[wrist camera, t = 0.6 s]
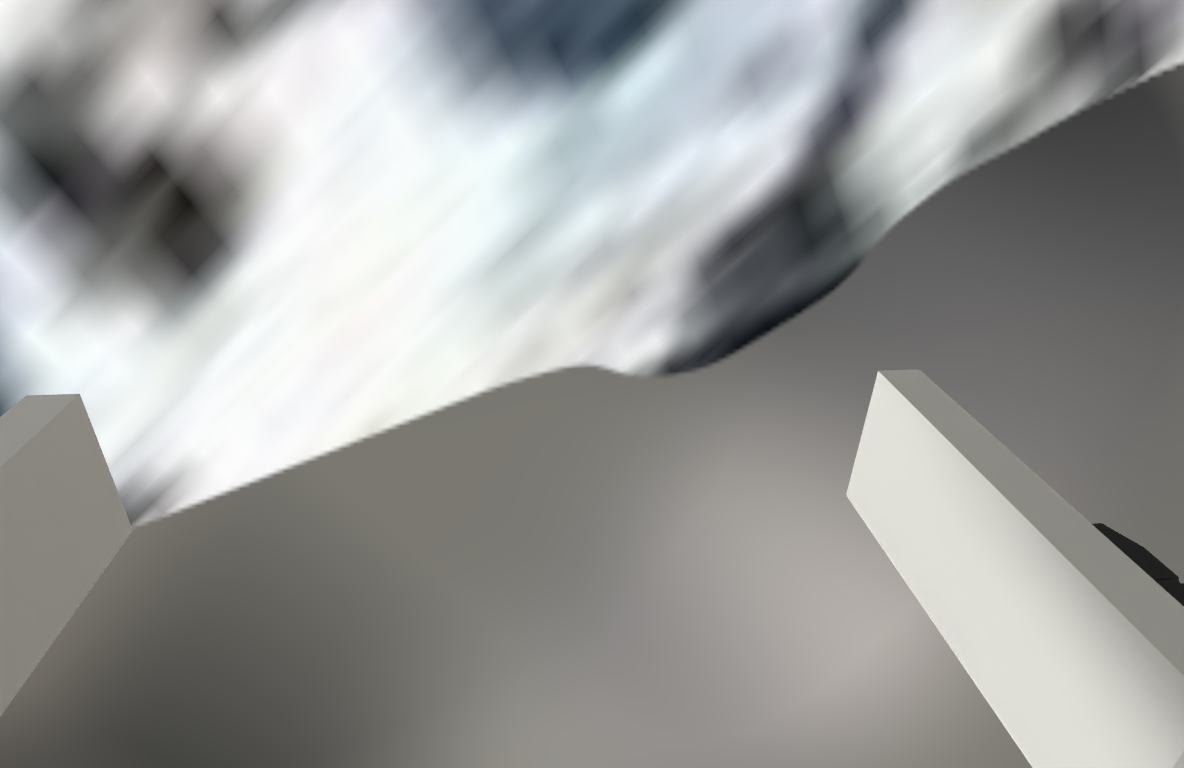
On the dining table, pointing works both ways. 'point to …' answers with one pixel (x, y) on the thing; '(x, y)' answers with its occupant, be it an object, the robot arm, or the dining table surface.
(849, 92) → the dining table surface
